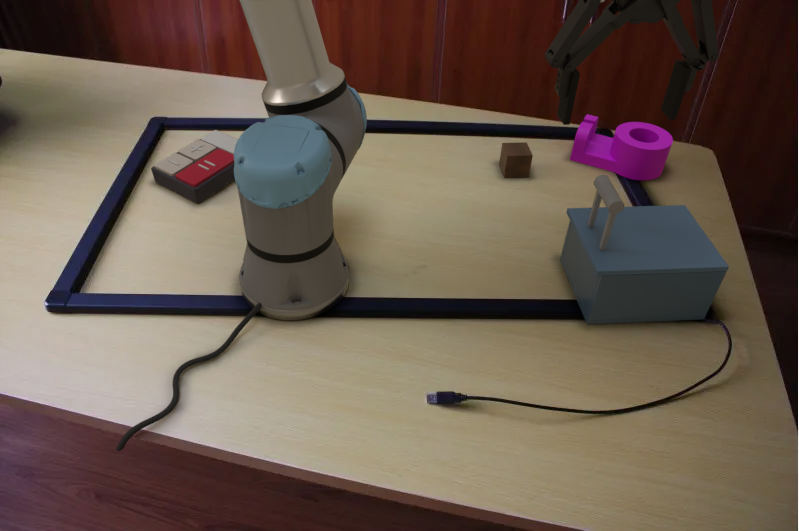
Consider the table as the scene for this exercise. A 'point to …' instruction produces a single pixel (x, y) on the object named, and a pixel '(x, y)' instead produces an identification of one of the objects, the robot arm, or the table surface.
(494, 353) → the table surface
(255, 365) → the table surface
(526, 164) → the block
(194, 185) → the calculator
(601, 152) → the tape dispenser
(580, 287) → the compartment
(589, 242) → the lid
